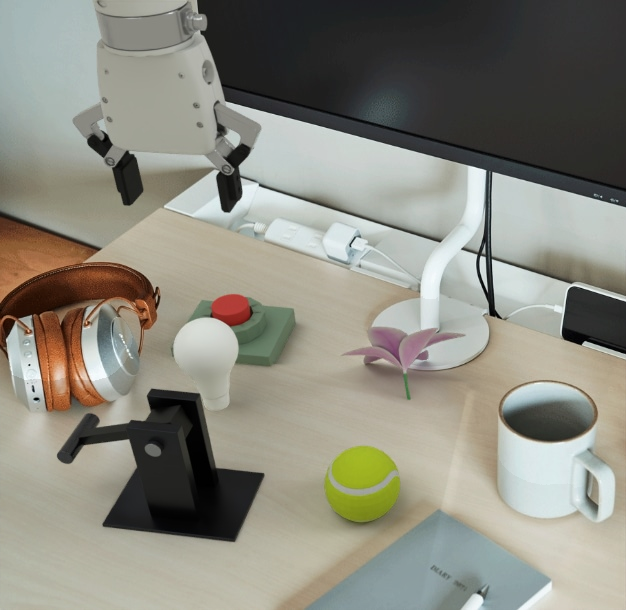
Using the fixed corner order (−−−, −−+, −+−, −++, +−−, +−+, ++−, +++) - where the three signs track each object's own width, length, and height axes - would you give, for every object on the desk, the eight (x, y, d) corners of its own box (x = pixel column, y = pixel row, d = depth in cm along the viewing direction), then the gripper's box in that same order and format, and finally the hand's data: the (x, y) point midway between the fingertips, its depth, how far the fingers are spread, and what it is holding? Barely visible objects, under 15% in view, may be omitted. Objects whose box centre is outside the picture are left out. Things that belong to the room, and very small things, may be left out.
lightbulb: (176, 424, 93) (155, 337, 86) (205, 385, 98) (187, 301, 91) (232, 434, 92) (215, 347, 85) (258, 395, 96) (244, 310, 90)
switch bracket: (104, 533, 81) (72, 435, 74) (143, 468, 88) (117, 372, 81) (236, 548, 80) (215, 451, 73) (265, 481, 87) (249, 386, 80)
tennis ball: (379, 548, 80) (375, 494, 76) (313, 524, 82) (306, 470, 79) (414, 495, 85) (412, 442, 82) (351, 474, 87) (346, 421, 84)
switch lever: (64, 469, 79) (50, 449, 78) (92, 429, 83) (78, 409, 82) (176, 454, 76) (163, 433, 75) (199, 414, 80) (187, 393, 79)
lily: (482, 383, 100) (465, 297, 99) (445, 415, 89) (427, 319, 88) (382, 394, 104) (365, 311, 103) (335, 426, 93) (316, 334, 92)
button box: (173, 363, 101) (167, 334, 98) (204, 315, 108) (199, 286, 106) (271, 372, 100) (266, 343, 97) (295, 323, 107) (292, 295, 104)
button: (208, 326, 100) (205, 313, 99) (221, 305, 103) (218, 292, 102) (243, 329, 100) (241, 316, 99) (255, 308, 103) (253, 295, 102)
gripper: (259, 15, 80) (282, 189, 90) (70, 6, 82) (113, 178, 92) (230, 45, 74) (257, 228, 84) (26, 35, 76) (77, 215, 86)
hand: (182, 202), depth 88 cm, fingers open, 9 cm apart
